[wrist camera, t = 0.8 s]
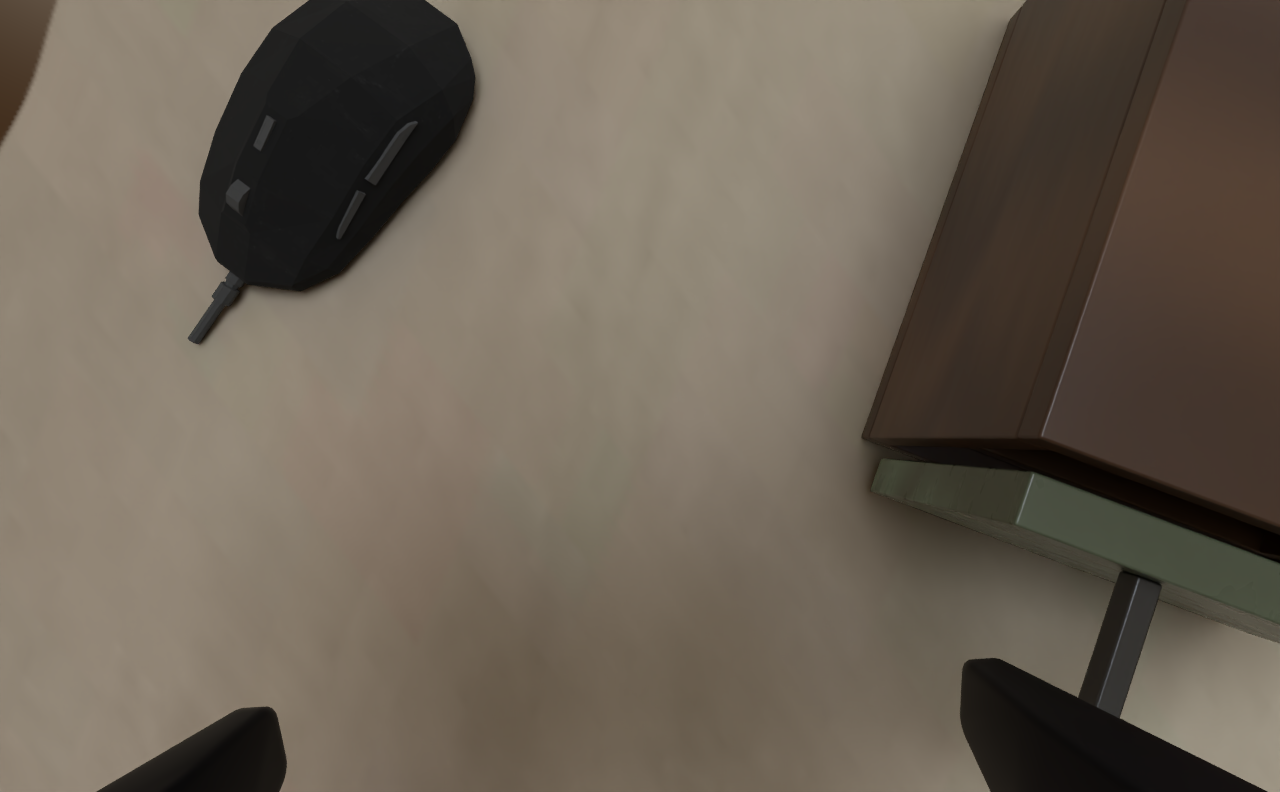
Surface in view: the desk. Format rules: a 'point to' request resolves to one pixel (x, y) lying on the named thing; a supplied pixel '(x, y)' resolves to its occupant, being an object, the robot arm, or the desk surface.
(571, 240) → the desk surface
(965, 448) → the cabinet
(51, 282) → the desk surface
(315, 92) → the gaming mouse
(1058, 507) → the drawer
